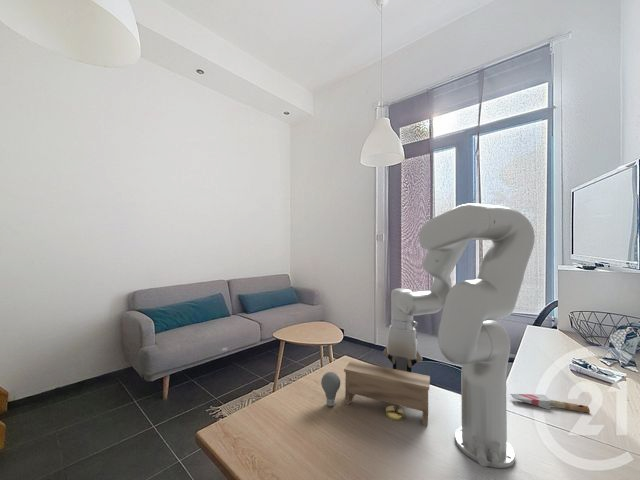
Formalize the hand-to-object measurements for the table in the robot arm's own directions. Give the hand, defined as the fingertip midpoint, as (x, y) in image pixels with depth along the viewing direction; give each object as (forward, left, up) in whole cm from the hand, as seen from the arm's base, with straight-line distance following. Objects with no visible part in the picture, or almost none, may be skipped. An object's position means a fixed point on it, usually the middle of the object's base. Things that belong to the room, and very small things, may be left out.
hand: (402, 375), depth 93 cm
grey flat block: (-4, 0, -4) cm, 6 cm away
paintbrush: (+9, -43, -5) cm, 44 cm away
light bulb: (-21, +19, -4) cm, 28 cm away
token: (-17, 0, -5) cm, 18 cm away
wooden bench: (-15, +3, -4) cm, 15 cm away
